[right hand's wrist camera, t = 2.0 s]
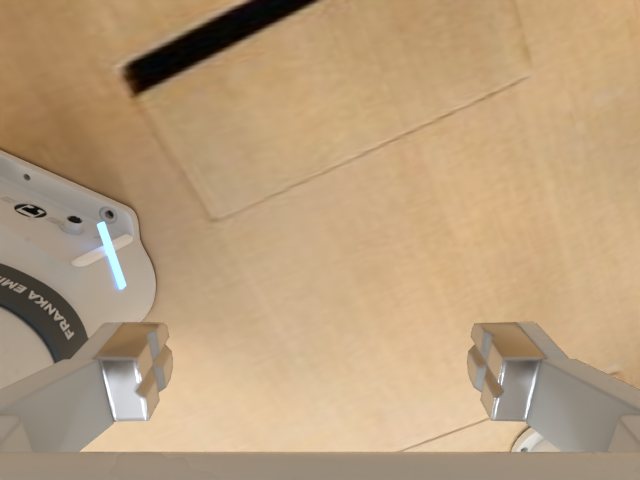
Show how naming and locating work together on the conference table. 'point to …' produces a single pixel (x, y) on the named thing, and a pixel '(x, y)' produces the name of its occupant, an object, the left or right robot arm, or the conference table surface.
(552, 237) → the conference table surface
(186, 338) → the conference table surface
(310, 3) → the conference table surface
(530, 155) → the conference table surface
